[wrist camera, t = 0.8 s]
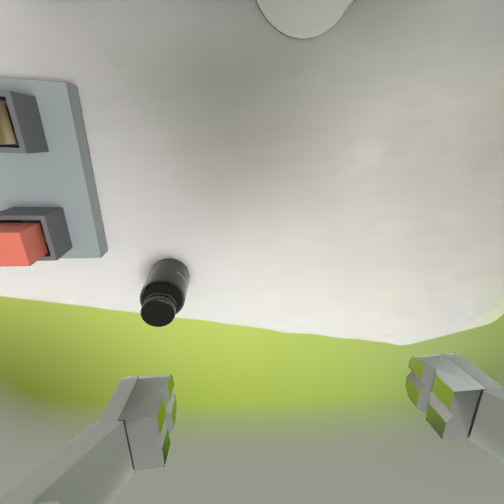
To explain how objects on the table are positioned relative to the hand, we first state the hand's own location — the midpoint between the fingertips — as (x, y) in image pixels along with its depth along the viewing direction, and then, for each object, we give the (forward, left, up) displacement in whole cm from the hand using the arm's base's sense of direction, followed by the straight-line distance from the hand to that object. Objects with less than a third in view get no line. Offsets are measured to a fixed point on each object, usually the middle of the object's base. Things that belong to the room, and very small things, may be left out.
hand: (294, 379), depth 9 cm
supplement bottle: (+16, -10, -38) cm, 43 cm away
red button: (+6, -27, -31) cm, 42 cm away
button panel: (-1, -27, -38) cm, 47 cm away
